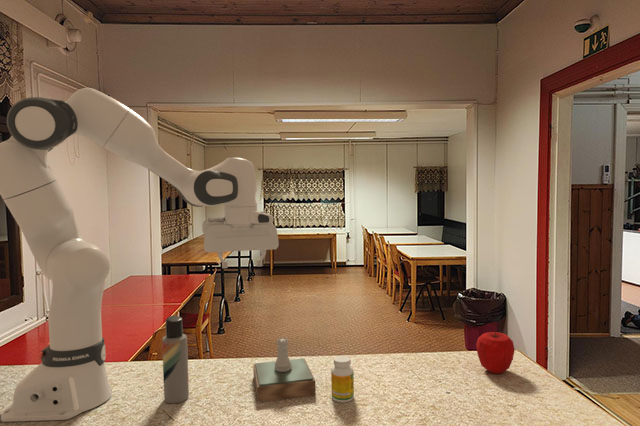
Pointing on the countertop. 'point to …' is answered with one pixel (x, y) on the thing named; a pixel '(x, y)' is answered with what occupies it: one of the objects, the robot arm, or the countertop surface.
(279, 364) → the rook chess piece
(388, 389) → the countertop surface
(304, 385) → the walnut plinth
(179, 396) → the lotion bottle
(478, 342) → the apple
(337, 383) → the supplement bottle
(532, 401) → the countertop surface
